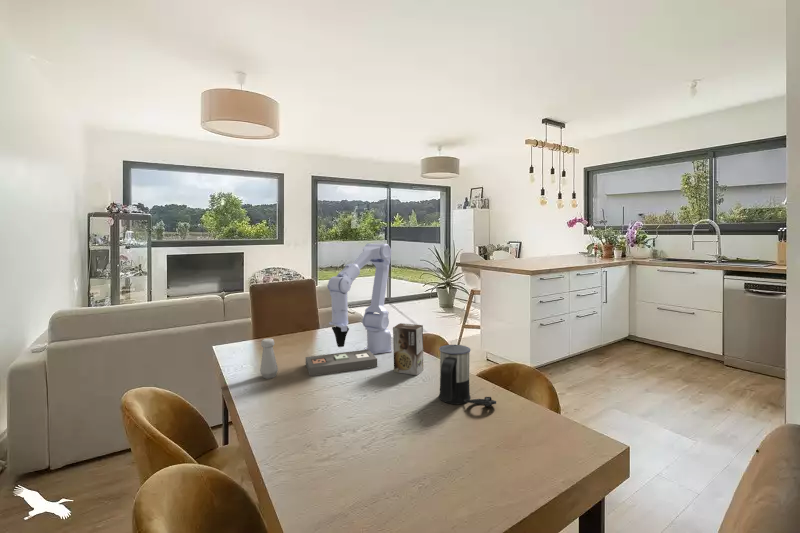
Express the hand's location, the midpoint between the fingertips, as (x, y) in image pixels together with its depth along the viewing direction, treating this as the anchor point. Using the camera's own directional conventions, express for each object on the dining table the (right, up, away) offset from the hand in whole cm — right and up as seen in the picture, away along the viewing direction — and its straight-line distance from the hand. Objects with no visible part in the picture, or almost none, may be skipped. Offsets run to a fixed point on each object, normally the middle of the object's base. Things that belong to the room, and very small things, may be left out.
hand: (340, 346), depth 141 cm
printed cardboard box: (+25, -8, -5) cm, 26 cm away
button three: (-7, -7, -2) cm, 11 cm away
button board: (0, -7, +1) cm, 7 cm away
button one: (+8, -7, +3) cm, 10 cm away
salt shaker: (-23, -9, -9) cm, 26 cm away
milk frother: (+41, -10, -30) cm, 52 cm away
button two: (0, -6, +1) cm, 6 cm away
